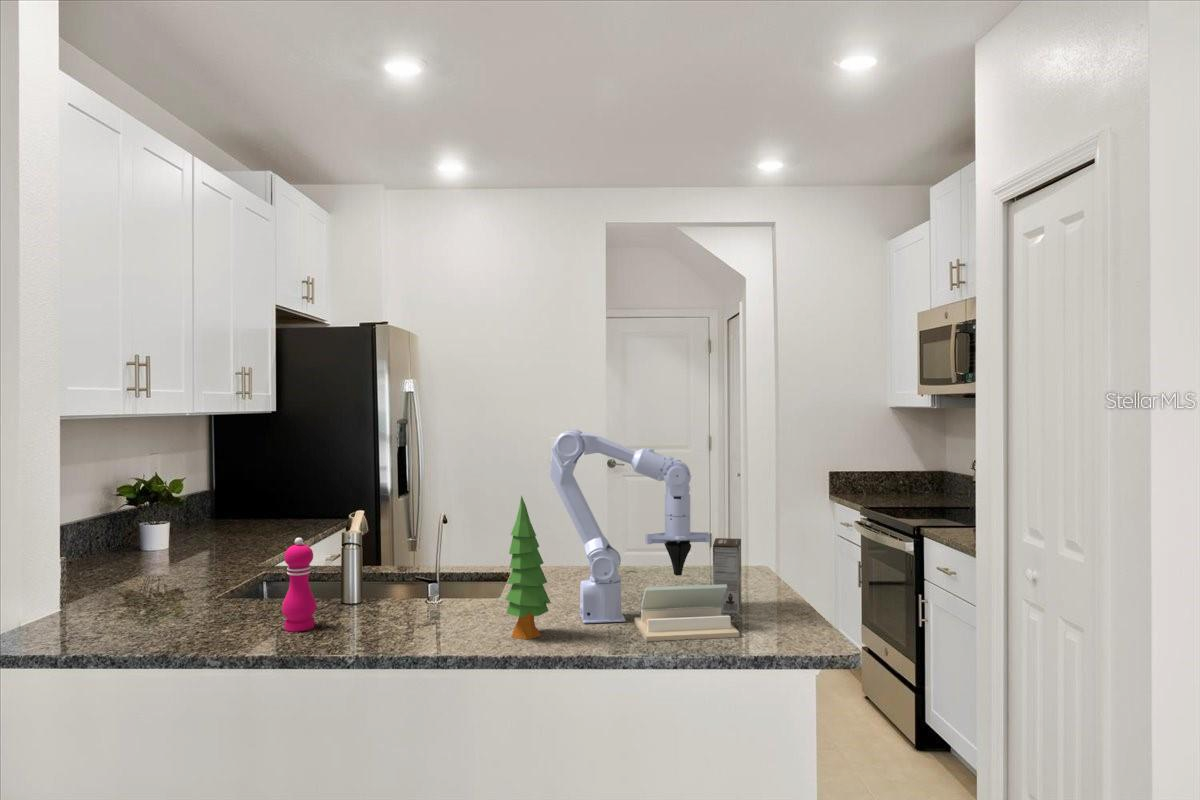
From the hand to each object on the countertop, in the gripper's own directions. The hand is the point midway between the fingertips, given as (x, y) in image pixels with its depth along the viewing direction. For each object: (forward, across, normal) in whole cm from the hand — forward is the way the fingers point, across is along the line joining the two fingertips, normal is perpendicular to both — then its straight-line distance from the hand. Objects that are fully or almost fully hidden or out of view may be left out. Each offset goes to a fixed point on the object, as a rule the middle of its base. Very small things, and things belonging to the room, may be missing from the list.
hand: (677, 574), depth 184 cm
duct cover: (+4, 0, -6) cm, 7 cm away
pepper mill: (+11, -84, +7) cm, 85 cm away
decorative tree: (+11, -34, -6) cm, 36 cm away
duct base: (+10, 0, -7) cm, 13 cm away
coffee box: (+11, +14, +8) cm, 19 cm away
